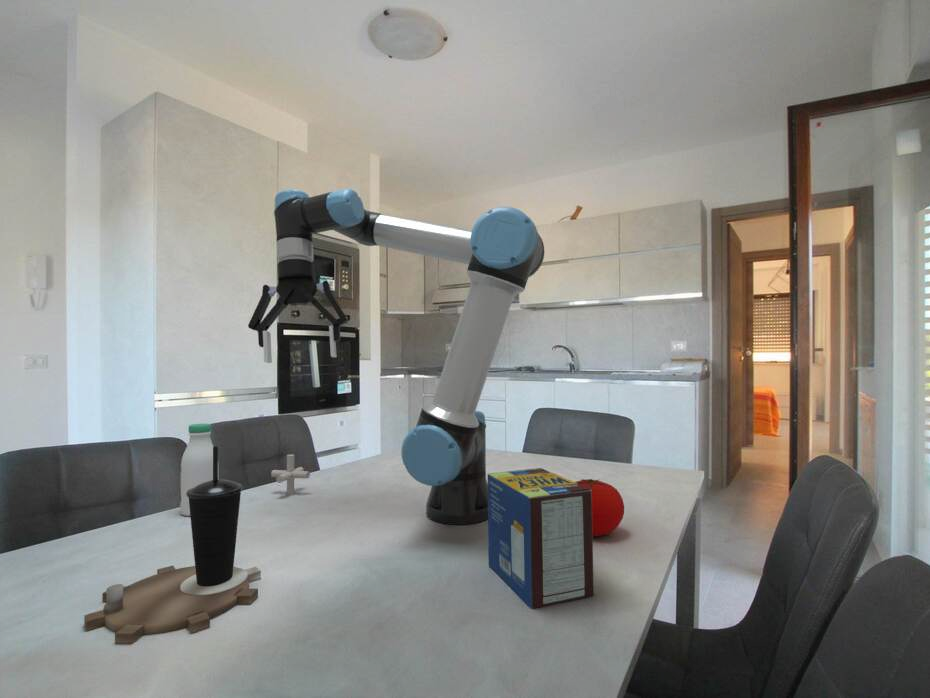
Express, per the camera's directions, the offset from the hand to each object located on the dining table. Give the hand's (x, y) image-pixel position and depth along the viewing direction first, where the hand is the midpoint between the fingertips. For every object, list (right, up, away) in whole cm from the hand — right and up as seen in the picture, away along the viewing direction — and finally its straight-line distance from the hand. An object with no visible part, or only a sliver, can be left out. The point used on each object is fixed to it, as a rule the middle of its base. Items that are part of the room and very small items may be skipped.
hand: (301, 359), depth 102 cm
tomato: (+60, -34, -7) cm, 70 cm away
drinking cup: (-3, -33, -29) cm, 44 cm away
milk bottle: (-26, -35, +9) cm, 45 cm away
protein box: (+46, -34, -27) cm, 63 cm away
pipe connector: (-11, -36, +23) cm, 44 cm away
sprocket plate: (-6, -34, -33) cm, 47 cm away
